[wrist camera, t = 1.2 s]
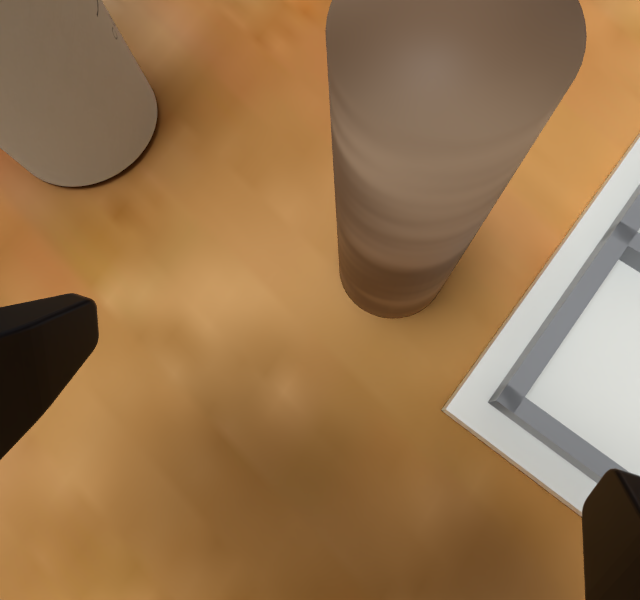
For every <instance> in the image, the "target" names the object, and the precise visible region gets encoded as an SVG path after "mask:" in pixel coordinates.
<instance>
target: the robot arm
mask: <svg viewBox="0 0 640 600" xmlns="http://www.w3.org/2000/svg"><path fill="white" fill-rule="evenodd" d="M98 338H99V332H98V318H97V306H96V304H95V302H94V301H93V300H92V299H90V298H87V297H84V296H81V295H78V294H74V293H70V294H64V295H59V296H55V297H50V298H45V299H40V300H35V301H30V302H25V303H20V304H15V305H10V306H5V307H0V460H1V459H2V458H3V457H4V455H5V454H6V453H7V452H8V451H9V450H10V449H11V448H12V447H13V446H14V445H15V444H16V443H17V442H18V441H19V440H20V439H21V438H22V437H23V436H24V434H25V433H26V432H27V431H28V430H29V429H30V428H31V427H32V426H33V425H34V424H35V423H36V422H37V421H38V419H39V418H40V417H41V416H42V415H43V414H44V413H45V412H46V410H47V409H48V408H49V407H50V406H51V404H52V403H53V402H54V401H55V399H56V398H57V397H58V395H59V394H60V393H61V392H62V390H63V389H64V388H65V386H66V385H67V384H68V383H69V381H70V380H71V379H72V377H73V376H74V375H75V374H76V372H77V371H78V370H79V368H80V367H81V366H82V365H83V363H84V362H85V361H86V359H87V358H88V357H89V356H90V354H91V353H92V352H93V350H94V349H95V347H96V345H97V342H98ZM582 530H583V554H584V578H585V599H586V600H640V476H639V475H636V474H633V473H630V472H627V471H624V470H621V469H618V468H612V469H609V470H608V471H607V472H606V473H605V474H604V475H603V476H602V478H601V479H600V481H599V482H598V483H597V485H596V486H595V487H594V489H593V490H592V491H591V493H590V494H589V496H588V497H587V498H586V500H585V502H584V505H583V509H582Z"/></svg>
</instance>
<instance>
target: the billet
mask: <svg viewBox="0 0 640 600" xmlns="http://www.w3.org/2000/svg"><path fill="white" fill-rule="evenodd" d="M326 47H327V64H328V81H329V98H330V115H331V133H332V150H333V167H334V184H335V201H336V218H337V235H338V253H339V270H340V278H341V282H342V285H343V287H344V289H345V291H346V293H347V294H348V296H349V297H350V298H351V300H352V301H353V302H354V303H355V304H356V305H358V306H359V307H360V308H362V309H363V310H365V311H366V312H368V313H371V314H373V315H376V316H379V317H384V318H402V317H407V316H410V315H413V314H415V313H417V312H419V311H421V310H423V309H424V308H426V307H427V306H428V305H429V304H430V303H431V302H432V301H433V300H434V299H435V297H436V296H437V294H438V293H439V291H440V290H441V288H442V286H443V285H444V283H445V282H446V280H447V279H448V277H449V275H450V274H451V272H452V271H453V269H454V268H455V266H456V264H457V263H458V261H459V260H460V258H461V257H462V255H463V253H464V252H465V250H466V249H467V247H468V246H469V244H470V242H471V241H472V239H473V238H474V236H475V235H476V233H477V231H478V230H479V228H480V227H481V225H482V224H483V222H484V220H485V219H486V217H487V216H488V214H489V213H490V211H491V209H492V208H493V206H494V205H495V203H496V202H497V200H498V198H499V197H500V195H501V194H502V192H503V191H504V189H505V187H506V186H507V184H508V183H509V181H510V180H511V178H512V176H513V175H514V173H515V172H516V170H517V169H518V167H519V165H520V164H521V162H522V161H523V159H524V158H525V156H526V154H527V153H528V151H529V150H530V148H531V147H532V145H533V143H534V142H535V140H536V139H537V137H538V136H539V134H540V133H541V131H542V129H543V128H544V126H545V125H546V123H547V122H548V120H549V118H550V117H551V115H552V114H553V112H554V111H555V109H556V107H557V106H558V104H559V103H560V101H561V100H562V98H563V96H564V95H565V93H566V92H567V90H568V89H569V87H570V85H571V84H572V82H573V81H574V79H575V78H576V75H577V73H578V71H579V69H580V67H581V64H582V61H583V57H584V53H585V48H586V24H585V19H584V15H583V11H582V8H581V5H580V3H579V1H578V0H332V2H331V5H330V8H329V12H328V16H327V22H326Z"/></svg>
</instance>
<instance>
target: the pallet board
mask: <svg viewBox="0 0 640 600" xmlns="http://www.w3.org/2000/svg"><path fill="white" fill-rule="evenodd" d="M442 411H443V412H444V413H445V414H447V415H448V416H449V417H451V418H452V419H453V420H455V421H456V422H457V423H459V424H460V425H461V426H463V427H464V428H465V429H467V430H468V431H469V432H470V433H472V434H473V435H474V436H476V437H477V438H478V439H480V440H481V441H482V442H484V443H485V444H486V445H488V446H489V447H490V448H491V449H493V450H494V451H495V452H497V453H498V454H499V455H501V456H502V457H503V458H505V459H506V460H507V461H509V462H510V463H511V464H513V465H514V466H515V467H516V468H518V469H519V470H520V471H522V472H523V473H524V474H526V475H527V476H528V477H530V478H531V479H532V480H534V481H535V482H536V483H538V484H539V485H540V486H541V487H543V488H544V489H545V490H547V491H548V492H549V493H551V494H552V495H553V496H555V497H556V498H557V499H559V500H560V501H561V502H562V503H564V504H565V505H566V506H568V507H569V508H570V509H572V510H573V511H574V512H576V513H577V514H578V515H580V516H581V517H582V509H583V505H584V502H585V500H586V498H587V497H588V496H589V494H590V493H591V491H592V490H593V489H594V487H595V486H596V485H597V483H598V482H599V481H600V479H601V478H602V476H603V475H604V474H605V473H606V472H607V471H608V470H609V469H612V468H618V469H621V470H624V471H627V472H630V473H633V474H636V475H639V476H640V133H639V134H638V136H637V137H636V139H635V140H634V141H633V143H632V144H631V146H630V147H629V148H628V150H627V151H626V153H625V154H624V155H623V157H622V158H621V160H620V161H619V162H618V164H617V165H616V167H615V168H614V169H613V171H612V172H611V174H610V175H609V176H608V178H607V179H606V181H605V182H604V183H603V185H602V186H601V188H600V189H599V190H598V192H597V193H596V194H595V196H594V197H593V199H592V200H591V201H590V203H589V204H588V206H587V207H586V208H585V210H584V211H583V213H582V214H581V215H580V217H579V218H578V220H577V221H576V222H575V224H574V225H573V227H572V228H571V229H570V231H569V232H568V234H567V235H566V236H565V238H564V239H563V241H562V242H561V243H560V245H559V246H558V248H557V249H556V250H555V252H554V253H553V255H552V256H551V257H550V259H549V260H548V262H547V263H546V264H545V266H544V267H543V269H542V270H541V271H540V273H539V274H538V276H537V277H536V278H535V280H534V281H533V283H532V284H531V285H530V287H529V288H528V290H527V291H526V292H525V294H524V295H523V297H522V298H521V299H520V301H519V302H518V303H517V305H516V306H515V308H514V309H513V310H512V312H511V313H510V315H509V316H508V317H507V319H506V320H505V322H504V323H503V324H502V326H501V327H500V329H499V330H498V331H497V333H496V334H495V336H494V337H493V338H492V340H491V341H490V343H489V344H488V345H487V347H486V348H485V350H484V351H483V352H482V354H481V355H480V357H479V358H478V359H477V361H476V362H475V364H474V365H473V366H472V368H471V369H470V371H469V372H468V373H467V375H466V376H465V378H464V379H463V380H462V382H461V383H460V385H459V386H458V387H457V389H456V390H455V392H454V393H453V394H452V396H451V397H450V399H449V400H448V401H447V403H446V404H445V406H444V407H443V408H442Z"/></svg>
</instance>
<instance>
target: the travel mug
mask: <svg viewBox="0 0 640 600" xmlns="http://www.w3.org/2000/svg"><path fill="white" fill-rule="evenodd" d="M156 121H157V103H156V98H155V95H154V92H153V90H152V88H151V86H150V84H149V83H148V81H147V79H146V77H145V76H144V74H143V72H142V70H141V69H140V67H139V65H138V63H137V62H136V60H135V58H134V56H133V55H132V53H131V51H130V49H129V48H128V46H127V44H126V42H125V41H124V39H123V37H122V35H121V34H120V32H119V30H118V28H117V27H116V25H115V23H114V22H113V20H112V18H111V16H110V15H109V13H108V11H107V9H106V8H105V6H104V4H103V2H102V1H101V0H0V148H1V149H2V150H4V151H5V152H6V153H7V154H8V155H10V156H11V157H12V158H13V159H15V160H16V161H17V162H18V163H19V164H21V165H22V166H23V167H24V168H26V169H27V170H28V171H29V172H30V173H32V174H33V175H34V176H36V177H37V178H39V179H41V180H43V181H46V182H48V183H51V184H54V185H60V186H68V187H76V186H85V185H91V184H95V183H98V182H101V181H104V180H106V179H108V178H111V177H113V176H114V175H116V174H118V173H120V172H121V171H123V170H124V169H126V168H127V167H128V166H129V165H131V164H132V163H133V162H134V161H135V160H136V159H137V158H138V157H139V156H140V154H141V153H142V152H143V151H144V149H145V148H146V146H147V145H148V143H149V141H150V139H151V137H152V135H153V132H154V130H155V126H156Z"/></svg>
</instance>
